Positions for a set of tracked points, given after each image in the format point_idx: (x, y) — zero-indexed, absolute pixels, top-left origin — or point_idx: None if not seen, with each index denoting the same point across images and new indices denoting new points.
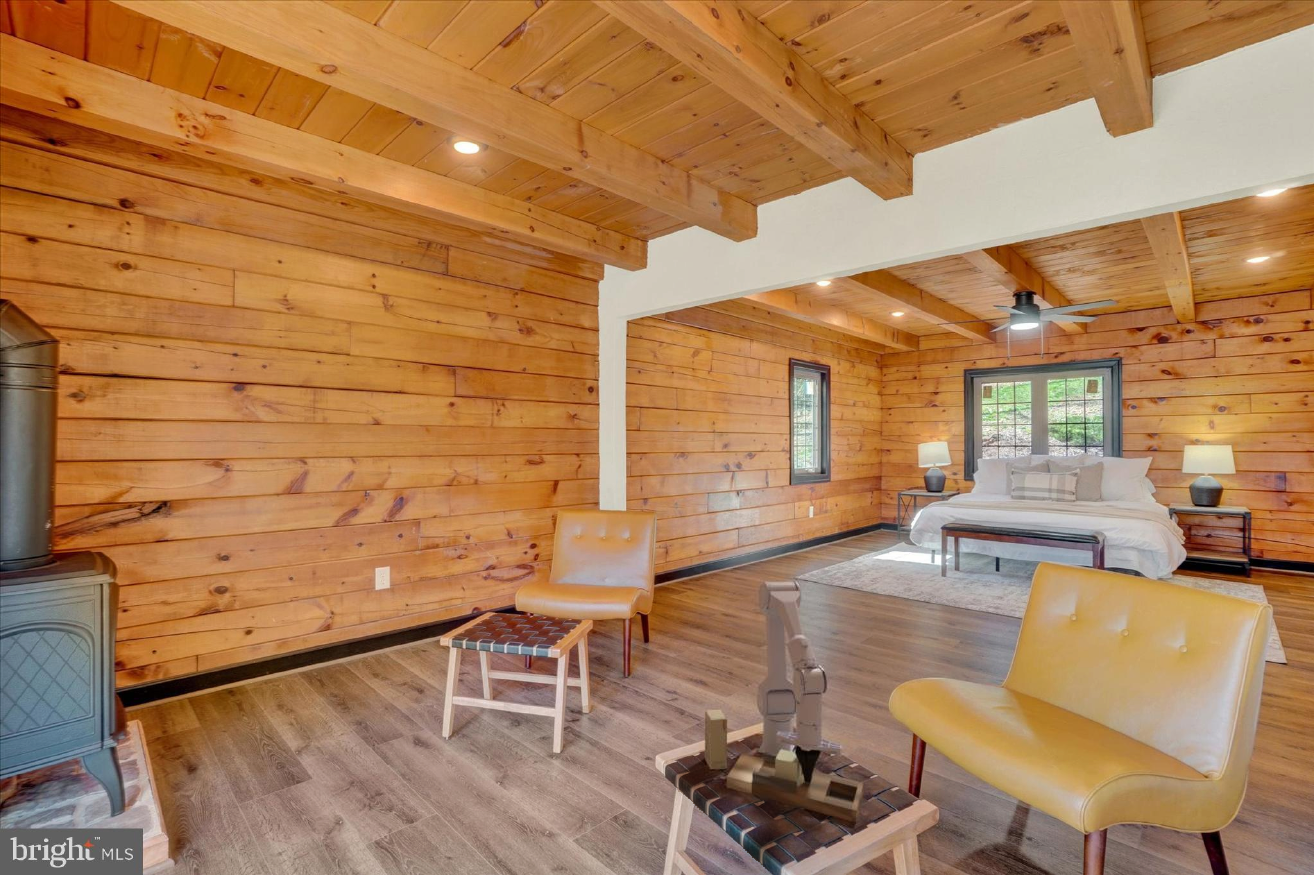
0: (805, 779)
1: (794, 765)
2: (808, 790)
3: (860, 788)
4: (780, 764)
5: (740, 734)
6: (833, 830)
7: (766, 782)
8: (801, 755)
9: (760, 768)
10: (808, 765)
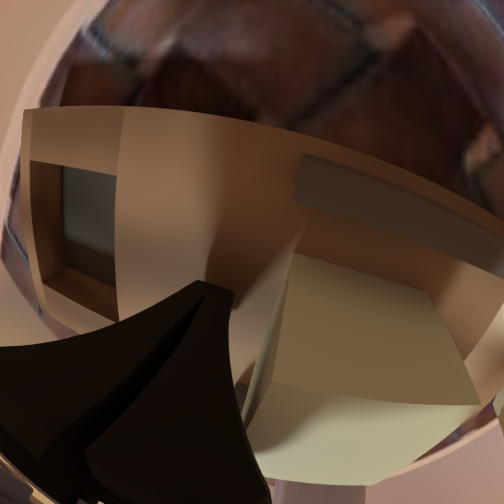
0: (221, 292)
1: (307, 366)
2: (211, 213)
3: (35, 276)
4: (437, 370)
5: (398, 473)
6: (131, 12)
7: (494, 232)
8: (152, 482)
9: None
10: (136, 354)
